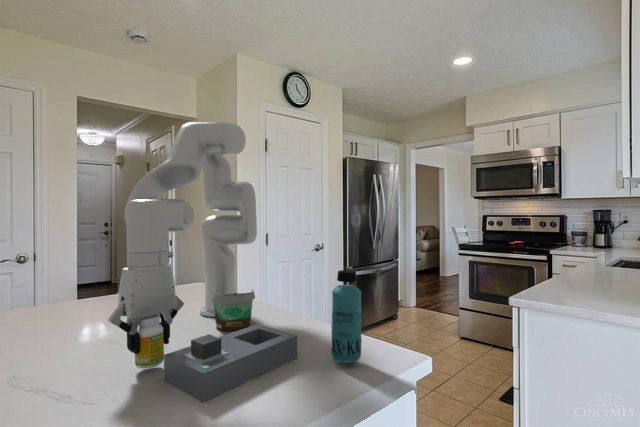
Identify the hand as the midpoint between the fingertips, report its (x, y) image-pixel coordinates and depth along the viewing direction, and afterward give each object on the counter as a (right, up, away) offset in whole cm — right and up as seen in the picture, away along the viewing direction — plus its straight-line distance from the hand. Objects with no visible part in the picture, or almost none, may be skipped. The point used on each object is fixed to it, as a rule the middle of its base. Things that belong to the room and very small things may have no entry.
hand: (149, 346), depth 74 cm
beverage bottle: (+41, -5, +3) cm, 41 cm away
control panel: (+18, -5, +1) cm, 18 cm away
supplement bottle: (0, -4, 0) cm, 4 cm away
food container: (+12, -5, +26) cm, 29 cm away
